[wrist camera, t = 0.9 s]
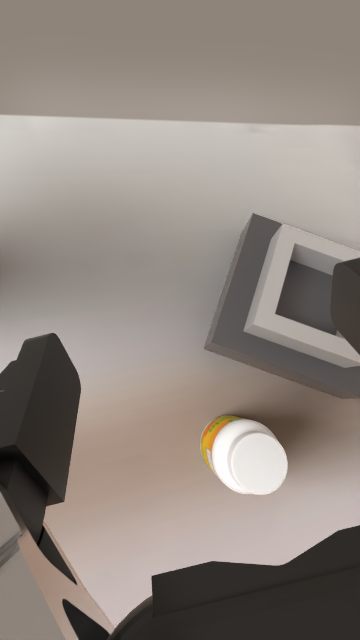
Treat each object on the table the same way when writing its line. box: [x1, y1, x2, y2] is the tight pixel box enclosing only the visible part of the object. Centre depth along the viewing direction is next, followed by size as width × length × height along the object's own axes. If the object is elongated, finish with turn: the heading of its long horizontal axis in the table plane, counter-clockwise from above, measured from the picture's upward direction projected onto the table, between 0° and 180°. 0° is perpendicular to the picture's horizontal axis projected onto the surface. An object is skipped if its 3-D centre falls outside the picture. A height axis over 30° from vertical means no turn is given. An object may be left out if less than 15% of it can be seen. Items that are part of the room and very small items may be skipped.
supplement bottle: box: [200, 415, 288, 495], centre depth 27 cm, size 5×5×10 cm
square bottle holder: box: [204, 213, 360, 398], centre depth 32 cm, size 15×14×7 cm
